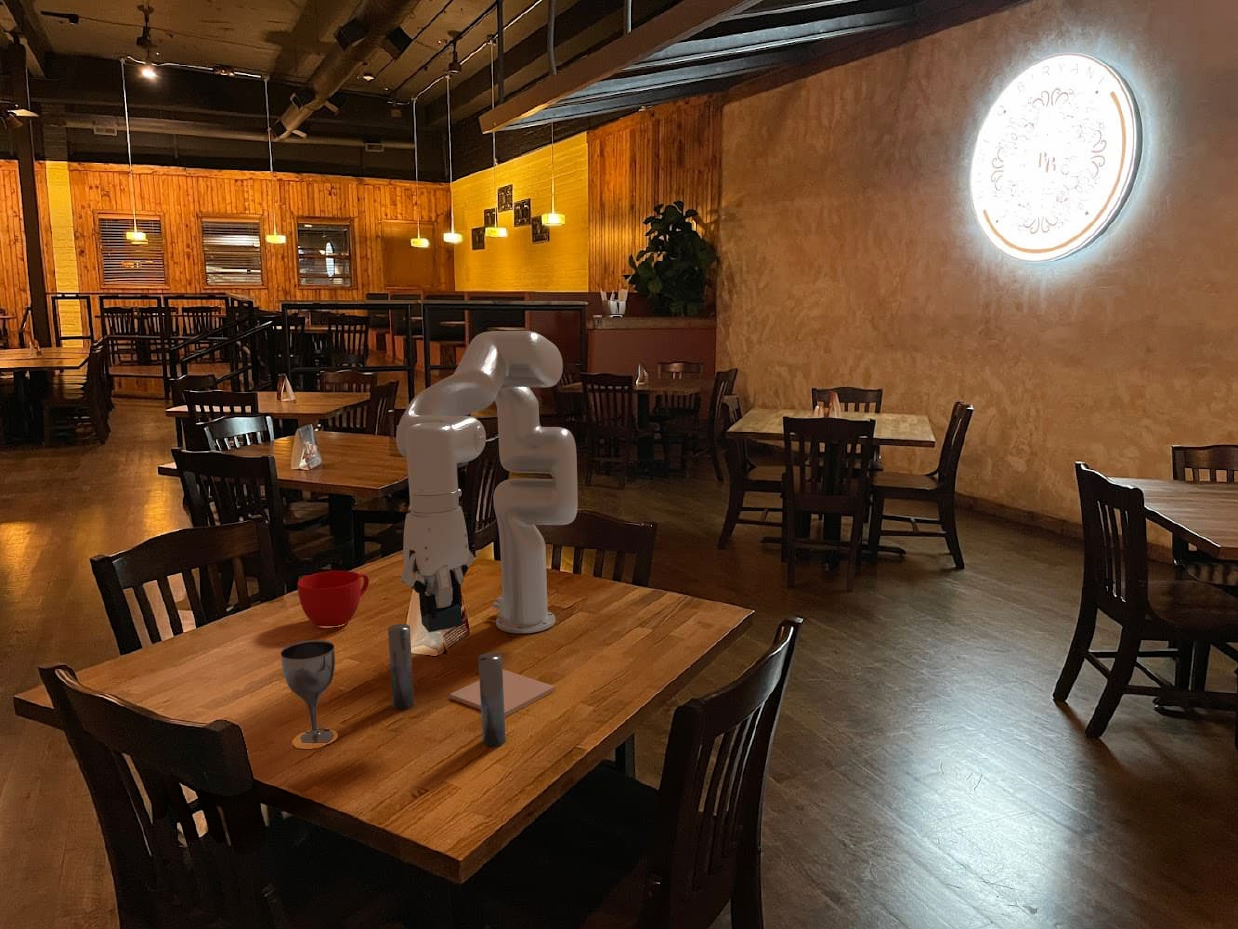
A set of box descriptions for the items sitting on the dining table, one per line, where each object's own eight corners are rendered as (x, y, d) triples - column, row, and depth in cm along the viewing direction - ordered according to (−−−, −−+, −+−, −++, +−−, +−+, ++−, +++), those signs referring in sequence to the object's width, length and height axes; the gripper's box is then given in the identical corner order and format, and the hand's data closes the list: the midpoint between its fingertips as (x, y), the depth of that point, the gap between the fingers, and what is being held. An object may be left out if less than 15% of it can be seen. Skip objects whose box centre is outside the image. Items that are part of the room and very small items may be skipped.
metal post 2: (477, 742, 139) (473, 658, 137) (494, 733, 142) (490, 650, 139) (494, 749, 137) (490, 663, 134) (510, 740, 140) (506, 655, 137)
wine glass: (296, 728, 145) (288, 641, 142) (346, 725, 146) (339, 638, 143) (282, 752, 137) (273, 660, 134) (335, 749, 138) (327, 658, 135)
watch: (451, 613, 148) (446, 550, 146) (466, 629, 141) (461, 563, 139) (418, 619, 146) (412, 555, 143) (431, 636, 139) (425, 569, 136)
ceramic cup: (389, 614, 198) (386, 571, 196) (328, 638, 184) (324, 592, 182) (350, 604, 205) (346, 563, 203) (288, 627, 191) (284, 583, 189)
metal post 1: (388, 706, 152) (383, 628, 150) (405, 698, 155) (400, 622, 153) (402, 711, 150) (397, 633, 148) (418, 704, 153) (414, 626, 150)
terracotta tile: (449, 698, 155) (449, 694, 155) (502, 673, 165) (502, 669, 165) (503, 718, 147) (503, 713, 147) (555, 690, 157) (555, 686, 157)
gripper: (458, 488, 148) (464, 592, 152) (375, 509, 135) (384, 623, 139) (490, 494, 144) (495, 601, 147) (407, 516, 131) (415, 633, 134)
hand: (441, 610), depth 143 cm, fingers closed on watch, 4 cm apart
